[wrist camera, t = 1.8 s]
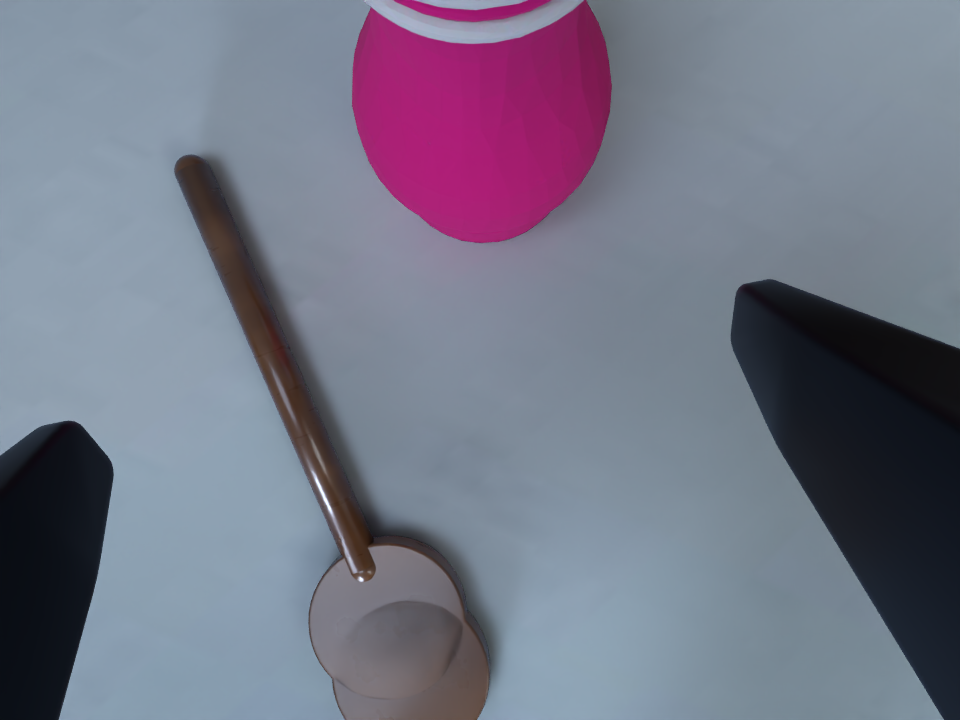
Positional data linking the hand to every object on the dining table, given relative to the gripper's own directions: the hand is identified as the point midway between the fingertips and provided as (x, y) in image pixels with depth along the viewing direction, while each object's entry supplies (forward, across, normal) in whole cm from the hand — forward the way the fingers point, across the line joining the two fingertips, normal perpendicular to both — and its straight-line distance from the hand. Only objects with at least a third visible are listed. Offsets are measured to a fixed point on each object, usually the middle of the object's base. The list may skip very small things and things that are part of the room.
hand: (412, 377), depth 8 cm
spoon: (+9, +6, +10) cm, 15 cm away
